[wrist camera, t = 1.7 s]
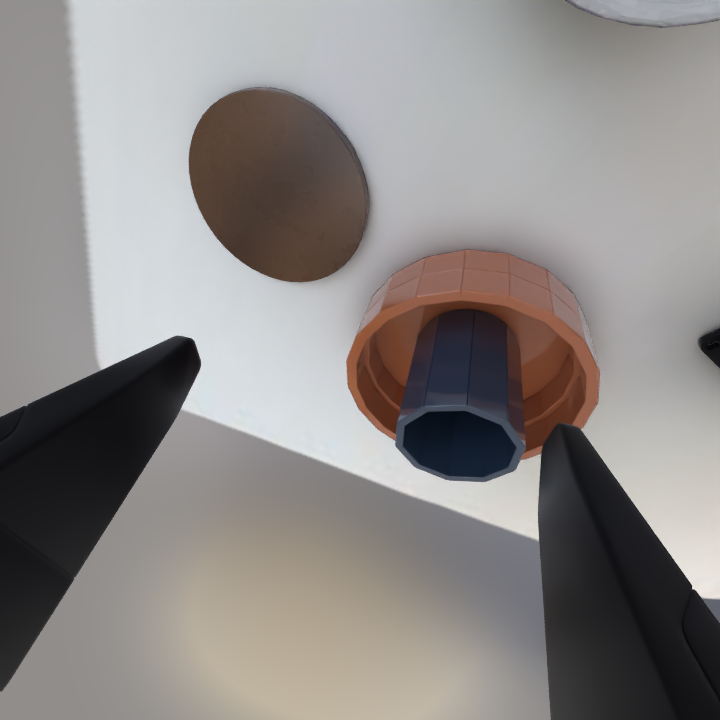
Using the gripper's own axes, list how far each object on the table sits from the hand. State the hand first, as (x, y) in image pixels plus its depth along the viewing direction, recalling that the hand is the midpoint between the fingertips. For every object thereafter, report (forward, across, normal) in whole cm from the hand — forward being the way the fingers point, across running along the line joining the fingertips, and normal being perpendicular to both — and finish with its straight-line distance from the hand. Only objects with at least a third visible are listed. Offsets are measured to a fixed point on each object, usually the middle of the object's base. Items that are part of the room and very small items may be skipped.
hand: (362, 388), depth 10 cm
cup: (+13, -4, +9) cm, 16 cm away
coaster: (+14, +8, +2) cm, 16 cm away
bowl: (+14, -4, +9) cm, 17 cm away
